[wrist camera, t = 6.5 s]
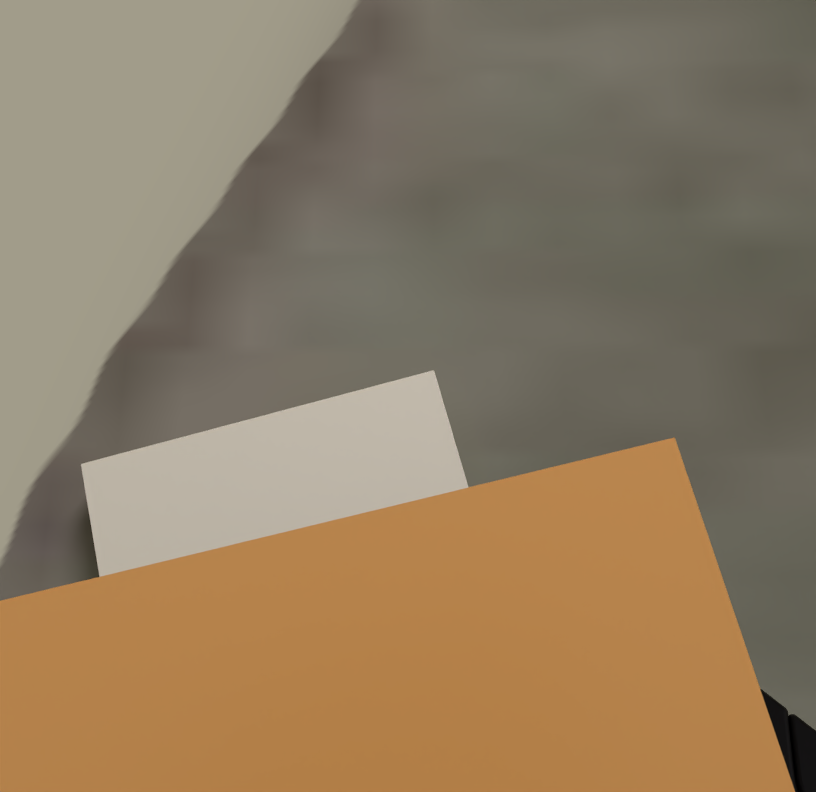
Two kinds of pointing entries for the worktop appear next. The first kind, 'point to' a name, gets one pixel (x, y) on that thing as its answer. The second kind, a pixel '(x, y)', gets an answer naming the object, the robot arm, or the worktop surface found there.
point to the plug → (406, 653)
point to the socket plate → (272, 474)
